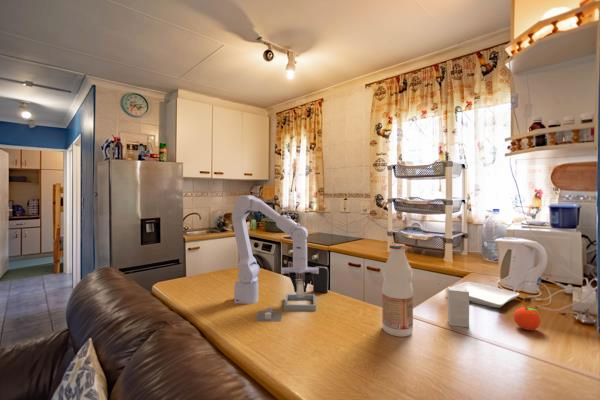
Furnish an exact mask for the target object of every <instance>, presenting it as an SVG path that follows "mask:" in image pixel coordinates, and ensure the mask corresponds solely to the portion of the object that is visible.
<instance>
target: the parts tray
mask: <svg viewBox="0 0 600 400" xmlns="http://www.w3.org/2000/svg"><path fill="white" fill-rule="evenodd" d="M284 299H285V300H284V303H283V311H287V312H288V311H291V312H292V311H293V312H294V311H298V312H301V311H304V312H305V311H307V312H309V311H315V312H317V304H316V303H317V302H316V294H314V293H313V294H312V293H311V294H310V293H309V294H305V296H304V297H302V298H298V297H296V293H294V294H292V293H291V294H285V298H284ZM290 300H291V301H294V300H295V301H296V300H297V301H300V300H301V301H308V300H309V301H313V302H312V303H313V304H288V302H289V301H290Z"/></svg>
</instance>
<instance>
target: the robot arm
mask: <svg viewBox="0 0 600 400" xmlns="http://www.w3.org/2000/svg"><path fill="white" fill-rule="evenodd" d="M233 204H234V205H233V209H232V213H231V221H232V228H233V230H234V231H233V232H234V236H235V241H236V247H237V252H238V256H239V261H238V264H237V268H238V272H237V278H238V279H239V280H236V281H235V283H234V287H233V288H234V294H233V296H234V298H233V299H234V304H244V305H250V304H256V303H258V302H259V278H258V277H259V275H260V272H261V267H260V265H259V264H258V263H257V259H256V258H255V257H254V256H253V255H254V254H253V250H252V245H251V240H250V236H249V230H248V226H247V222H246V219H247V217H248V216H249V215H250V213H252V212H260V213H262V215H264V216H266V217H268V218H269V219H271V220H273V221H274V223H275V224H276V227H277V228H278V229H280V230H281V231H282V232H284V233H285V234H286V235H288V236H290V239H291V240H292V266H290V267H288V266H287V267H282V268H281V274H282V275H284V274H289V279H290V281H291V283H292V286H293V291H294V293H296V280H297V274H304V293H307V287H308V285H309V282H310V279H311V278H312V274H313V273H316V274H319V268H314V266H313V267H311V266H309V267H308V239H307V238H308V236H309V230H308V229H307V228H306V226H303V225H301V224H300V223H299V222H298V223H297V222H296V221H294V220H293V219H292V218H291V216H290V215H286V214H283V215H281V214H280V213H279V212H277V211H275V209H273V208H272V207H270V205H268V204H267V203H266V202H264V201H263V200H262V199H261V198H258V197H257V196H255V195H253V194H248V195H245V194H241V195H239V196H238V197H237V198H236V199H235V201H234V202H233Z"/></svg>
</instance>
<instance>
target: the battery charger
mask: <svg viewBox="0 0 600 400" xmlns="http://www.w3.org/2000/svg"><path fill="white" fill-rule="evenodd" d="M313 268H319V274H316V273H312V284H313V285H312V287H313V288H312V291H313V292H315V293H323V294H324V293H328V292H329V268H328V267H327V266H323V265H320V266H319V265H316V266H313Z"/></svg>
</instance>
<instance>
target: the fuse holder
mask: <svg viewBox="0 0 600 400" xmlns="http://www.w3.org/2000/svg"><path fill="white" fill-rule="evenodd" d="M282 315H283V310H274V307H273V306H266V310H258V311H257V314H256V316H255V319H254V322H281V320H282Z"/></svg>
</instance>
